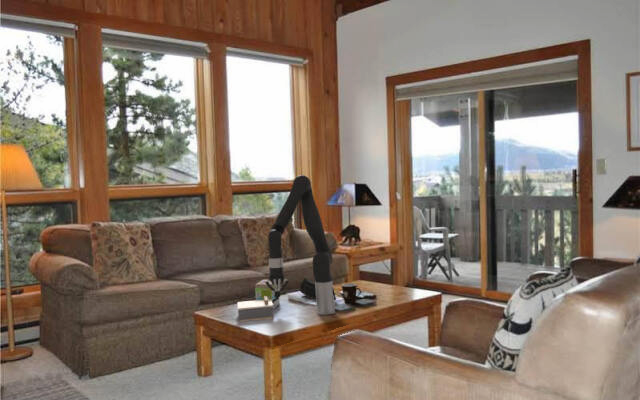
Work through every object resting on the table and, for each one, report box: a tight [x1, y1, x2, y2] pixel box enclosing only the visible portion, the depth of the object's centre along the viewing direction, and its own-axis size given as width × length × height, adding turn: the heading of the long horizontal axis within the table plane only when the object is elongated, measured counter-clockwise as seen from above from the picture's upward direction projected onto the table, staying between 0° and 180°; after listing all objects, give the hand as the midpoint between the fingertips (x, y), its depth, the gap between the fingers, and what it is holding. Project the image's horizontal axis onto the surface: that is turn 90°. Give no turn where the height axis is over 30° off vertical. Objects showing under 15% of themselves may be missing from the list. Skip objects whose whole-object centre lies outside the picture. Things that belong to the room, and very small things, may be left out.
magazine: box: [299, 277, 337, 302], centre depth 332 cm, size 17×3×30 cm
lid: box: [237, 296, 273, 310], centre depth 299 cm, size 18×14×3 cm
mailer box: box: [237, 307, 274, 322], centre depth 299 cm, size 18×14×6 cm
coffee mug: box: [341, 282, 362, 304], centre depth 319 cm, size 12×9×10 cm
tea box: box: [254, 279, 280, 309], centre depth 319 cm, size 15×10×15 cm
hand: (277, 297), depth 301 cm, fingers closed
